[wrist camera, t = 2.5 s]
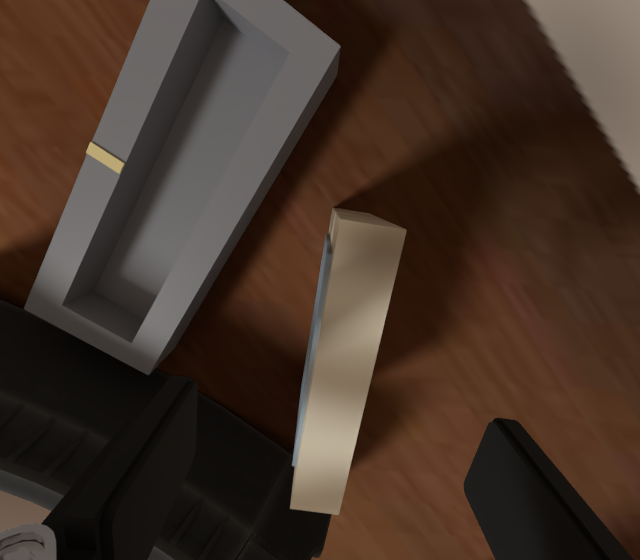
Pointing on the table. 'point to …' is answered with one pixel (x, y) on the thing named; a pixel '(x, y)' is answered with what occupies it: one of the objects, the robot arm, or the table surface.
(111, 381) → the magazine
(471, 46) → the table surface
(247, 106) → the gray rectangular tray
